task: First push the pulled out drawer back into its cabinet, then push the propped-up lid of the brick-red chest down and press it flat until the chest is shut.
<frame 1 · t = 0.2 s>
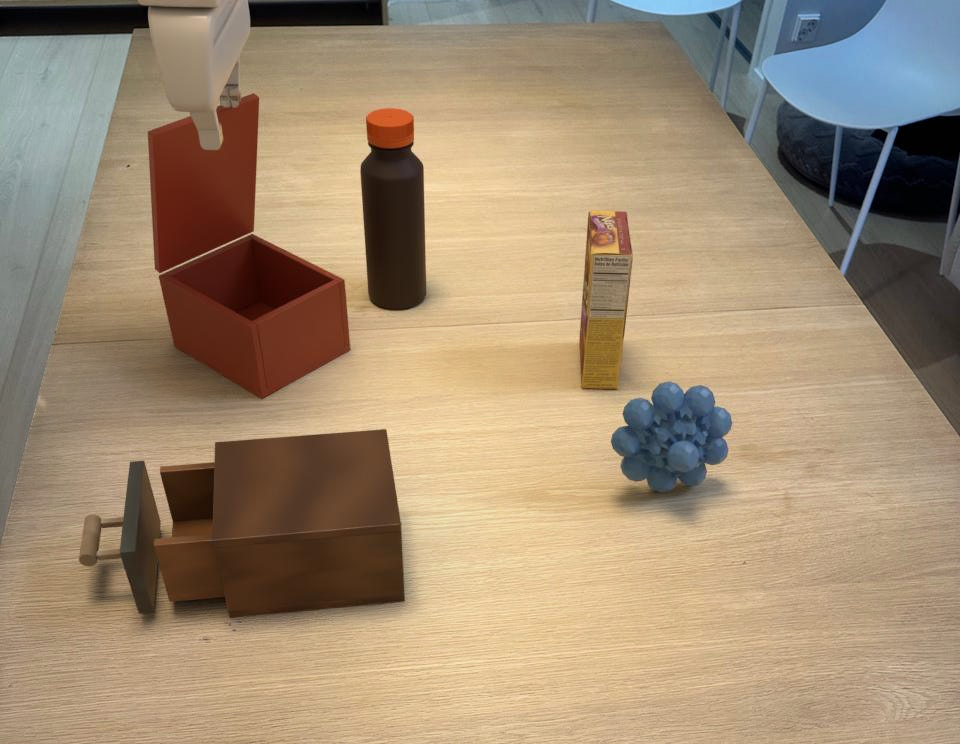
hand: (222, 125, 97), 24 cm above the table, tool pointing down, fingers open, 8 cm apart
candy box: (596, 368, 114), on the table
blue knobbed flower: (665, 498, 99), on the table
cabinet: (314, 558, 93), on the table
lid: (205, 185, 106), point 16 cm above the table, hinge at 75.0°
bottle: (397, 297, 123), on the table
chest: (262, 348, 115), on the table
pulled out drawer: (191, 531, 88), point 4 cm above the table, slide at 6.0 cm
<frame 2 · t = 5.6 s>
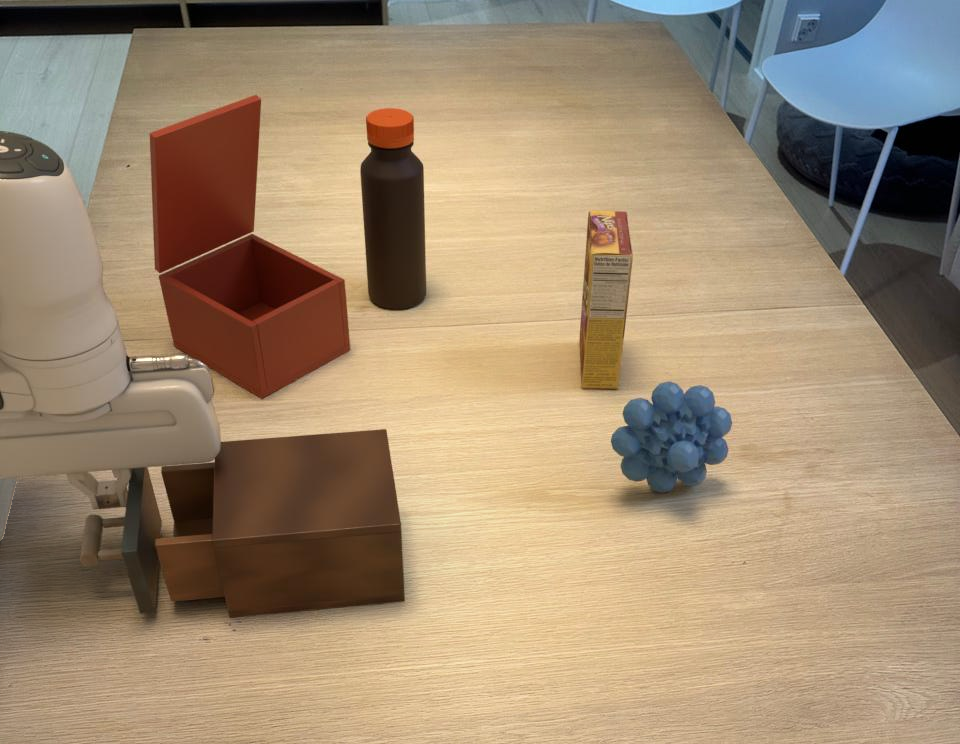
hand: (111, 504, 90), 5 cm above the table, tool pointing down, fingers closed
lid: (206, 186, 106), point 16 cm above the table, hinge at 73.9°
pulled out drawer: (192, 531, 88), point 4 cm above the table, slide at 5.9 cm, touching gripper
everything else where it was.
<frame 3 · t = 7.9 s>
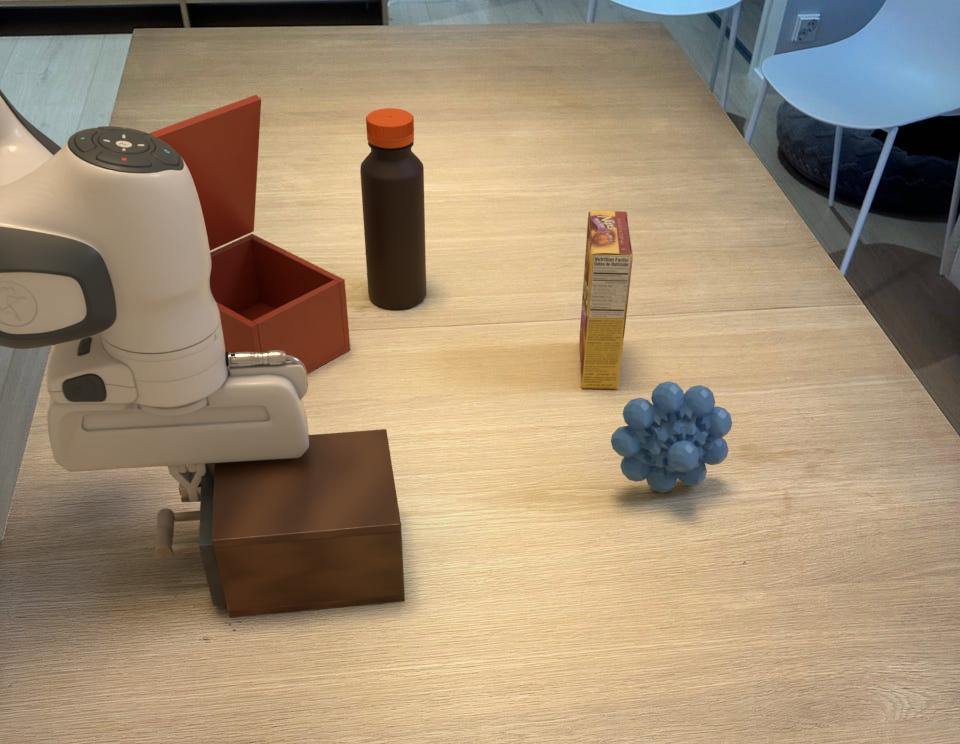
hand: (196, 497, 91), 5 cm above the table, tool pointing down, fingers closed, pressing on pulled out drawer
pulled out drawer: (263, 525, 89), point 4 cm above the table, slide at 0.0 cm, touching cabinet, gripper
everything else where it was.
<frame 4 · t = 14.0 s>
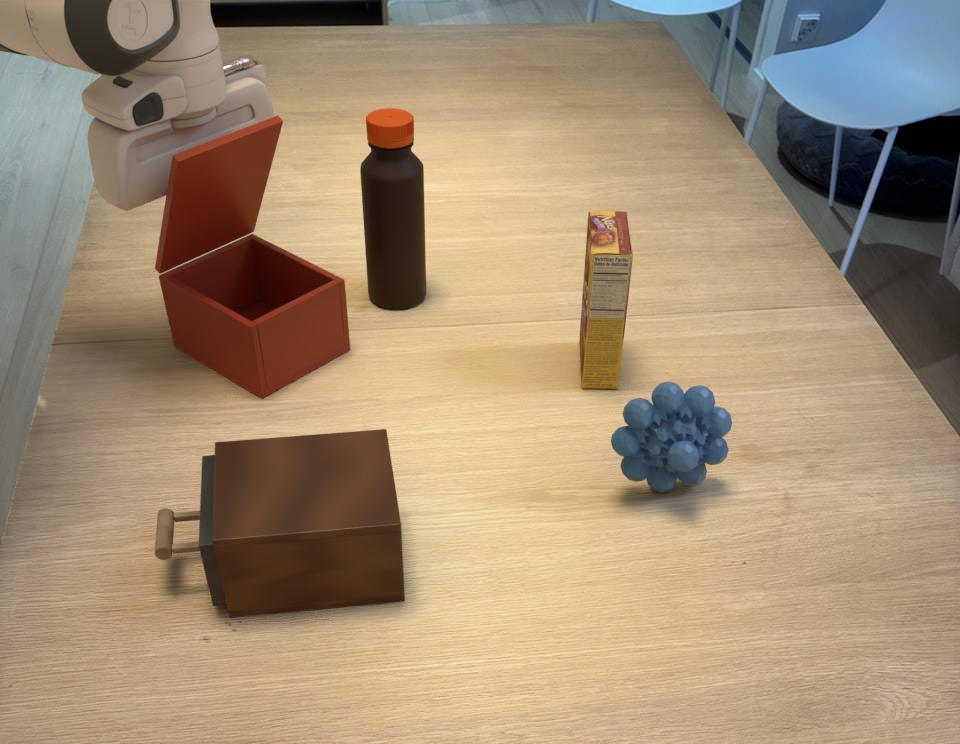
hand: (202, 220, 109), 12 cm above the table, tool pointing down, fingers closed, pressing on lid
lid: (216, 197, 105), point 16 cm above the table, hinge at 61.9°, touching gripper
pulled out drawer: (263, 525, 89), point 4 cm above the table, slide at 0.0 cm, touching cabinet
everything else where it was.
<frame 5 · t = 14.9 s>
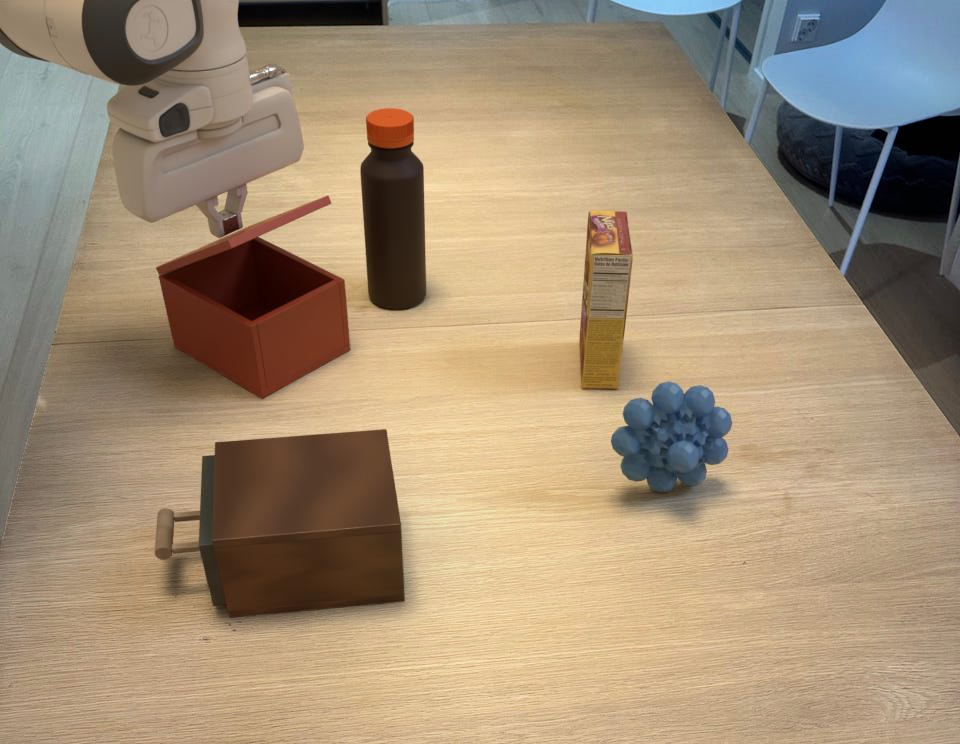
hand: (226, 231, 108), 12 cm above the table, tool pointing down, fingers closed
lid: (241, 236, 106), point 13 cm above the table, hinge at 29.4°, touching gripper
everything else where it was.
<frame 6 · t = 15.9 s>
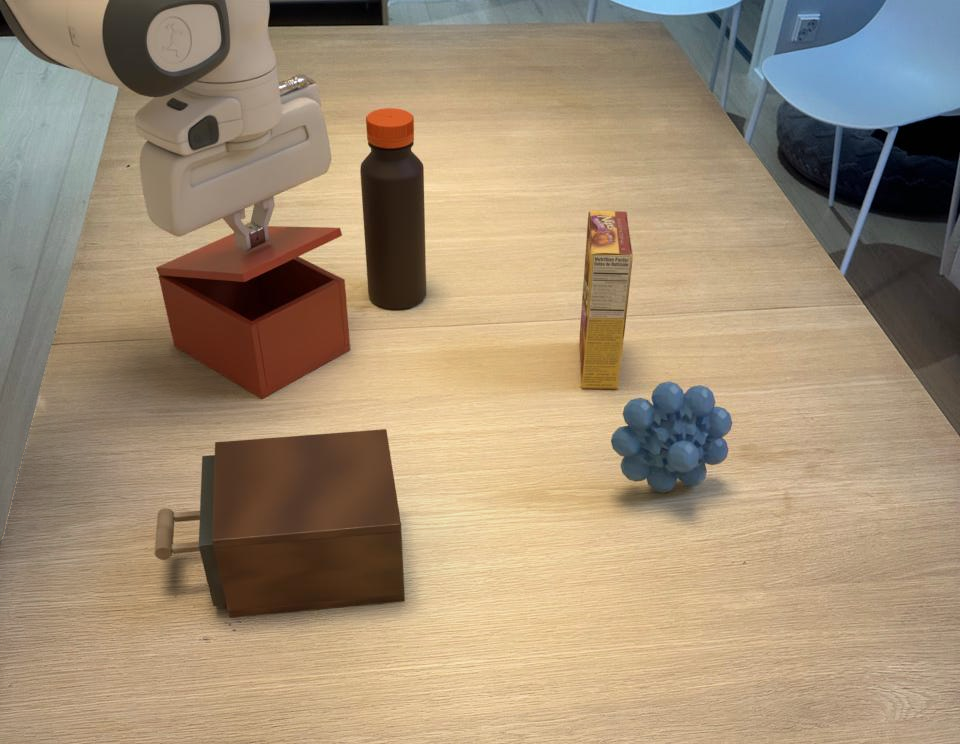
hand: (253, 244, 106), 12 cm above the table, tool pointing down, fingers closed
lid: (247, 251, 107), point 11 cm above the table, hinge at 17.8°, touching gripper
everything else where it was.
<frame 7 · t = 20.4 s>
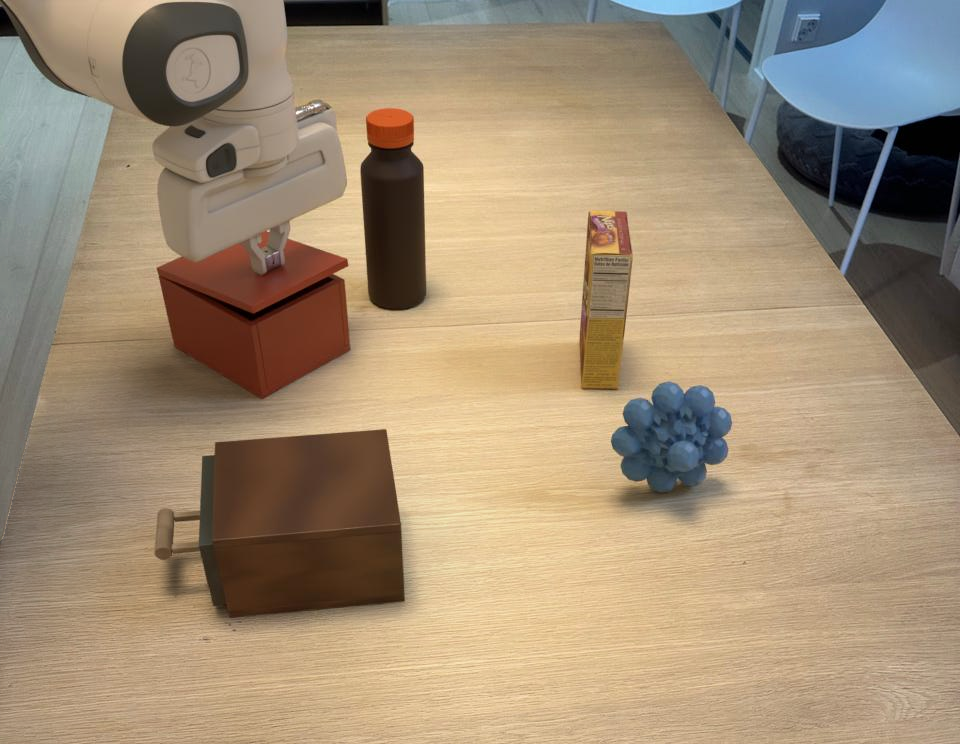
hand: (268, 268, 106), 10 cm above the table, tool pointing down, fingers closed, pressing on lid
lid: (252, 266, 108), point 10 cm above the table, hinge at 6.2°, touching gripper
everything else where it was.
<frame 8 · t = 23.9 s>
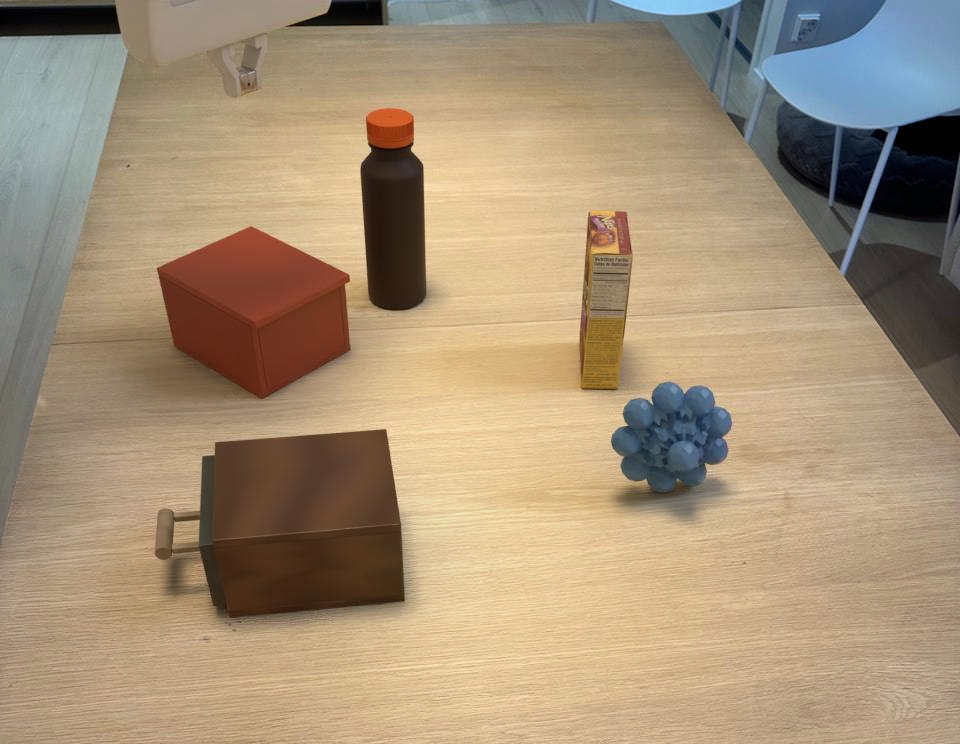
hand: (243, 92, 94), 27 cm above the table, tool pointing down, fingers closed
lid: (253, 274, 109), point 9 cm above the table, hinge at 0.0°
everything else where it was.
at the end: pulled out drawer slide at 0.0 cm; lid at +0° (first picture: +75°) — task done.
